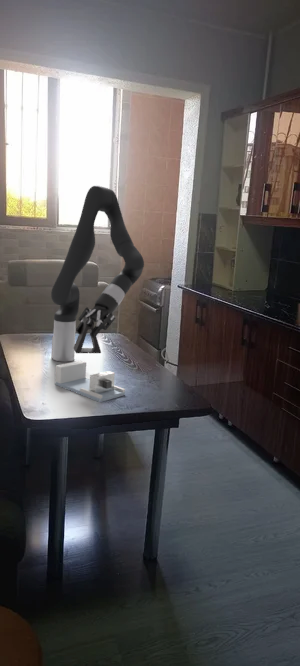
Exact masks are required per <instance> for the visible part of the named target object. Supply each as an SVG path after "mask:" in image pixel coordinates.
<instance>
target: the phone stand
mask: <svg viewBox="0 0 300 666" xmlns="http://www.w3.org/2000/svg"><path fill="white" fill-rule="evenodd" d="M82 319H83V326H82V329H81V332H80V334H78V336H77V338H76V340H75V345H74V350H75V354H101V353H102V350H101V346H100V344H99V341H98V339H97V338H98V337H97V336H96V337H95V338H92V337H91V336H90V338H91V344H92V347H83V346H84V343H85V340H86V338H87V337H86V336H87V334H88V330H89V334H90V333H91V331H92V330H93V329H94V327H95V326H94V325H95V322H93V320H92V319H91V318H90V317H89V319H90V320H91V321H90V323H89V324H86V323H87V321H89V319H88V318H87V317H83V318H82Z"/></svg>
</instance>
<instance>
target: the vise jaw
mask: <svg viewBox="0 0 300 666" xmlns="http://www.w3.org/2000/svg"><path fill="white" fill-rule="evenodd" d="M115 376H116V375H115V372H113V371H110V370H107V371H101V372H98V373H94V374H90V375H89V379H90V385H89V390H90V391H92V392H95V393H97V394H98V393H102V392H105V391H109V390H113V389H114V385H115Z"/></svg>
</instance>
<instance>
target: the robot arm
mask: <svg viewBox="0 0 300 666" xmlns="http://www.w3.org/2000/svg"><path fill="white" fill-rule="evenodd" d="M120 207H121V206H120V203H119V200H118V197H117V195H116V193H115V191H114V190H112V189H111V188H109V187H104V186H100V185H97V184H96V185H92V186H91V187H90V188H89V189H88V191H87V193H86V196H85V199H84V202H83V205H82V210H81V214H80V217H79V220H78V224H77V225H76V229H75V232H74V234H73V237H72V239H71V242H70V245H69V248H68V250H67V254H66V256H65V258H64V262H63V264H62V267H61V269H60V271H59V274H58V276H57V278H56V279H55V282H54V284H53V286H52V289H51V291H50V295H51V296H50V297H51V300H52V302H53V303H54V304H55V305H57V306H59V308H58V309H57V311H55V313H54V315H53V336H52V337H51V359H52V360H53V361H56V362H62V363H64V362H65V363H66V362H67V363H70V362H74V361H75V354H76V352H75V350H74V345H75V343H76V333H77V334H78V335H79V334H80V332H81V329H82V326H83V318H84V317H87V318H88V319H89V317H90V318H91V319H92V320H93V322H94V323H96V325H95V326H94V329H93V330H92V331H91V333H90V332H89V336H90V338H91V337H92V338H95V337H97V335H99V333H100V332H101V331H103V330H104V331H106V330H108V328H109V327H110V326H111V325H112V324H113V322H114V321H115V320H116V317H115V315H114V313H115V311H116V310H117V308H118V307H119V306H120V304H121V303H122V301H123V300H124V298H125V296H126V294H128V292H129V291H130V289H131V287H132V286H133V285H134V284H135V283H136V282H137V281H138V280H139V278H140V277H141V275H142V273H143V270H144V267H145V261H144V258H143V256H142V254H141V252H140V251H139V250H138V249H137V247H136V246H135V245H134V243H133V240H132V238H131V235H130V234H129V232H128V229H127V227H126V225H125V222H124V218H123V215H122V210H121V208H120ZM99 212H103V213H104V214H105V215H106V217H107V218H108V220H109V223H110V230H109V231H110V233H109V234H110V239H111V242H112V245H113V247H114V248H115V251H116V253H117V254H118V256H119V257H122V259H123V262H124V267H123V269H122V270H121V271H120V272H119V273H118V274H116V275H115V276H114V277H113V278H112V280H111V281H110V282H109V284H108V285H107V286H106V287H105V288H104V289H103V291H102V292H101V294H100V295H99V297H97V299H96V300H95V303H94V306H93V308H91V309H90V308H89V307H87V306H86V307H85V308H84V310H83V311H82V312H81V314H80V316H79V317H78V319H77V316H78V314H79V308H80V299H81V297H80V289H79V287H78V285H77V284H76V283H74V282H75V280H76V277H77V276H78V275H79V274H80V272H81V271H82V270H83V269H84V268H85V266H86V265H87V264H88V262H89V261H90V259H91V256H92V254H93V251H94V249H95V247H96V235H95V221H96V218H97V215H98V213H99ZM77 320H78V321H79V324H78V326H76V325H77ZM90 321H91V320H90V319H89V321H87V323H86V324H89V323H90Z"/></svg>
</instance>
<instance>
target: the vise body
mask: <svg viewBox="0 0 300 666" xmlns="http://www.w3.org/2000/svg"><path fill="white" fill-rule="evenodd" d="M86 374H87V362H86V361H83V360H77V361H71V362H67V363H62V364H58V365H55V374H54V375H55V378H54V381H55V384H54V385H55V386H58V387H60V388H62V387H63V389H65V388H66V389H65V390H67V389H68V391H70V390H71V392H73V391H74V392H73V393H75V392H77V393H76V394H78V393H79V394H78V395H80V394H81V395H80V396H83V397H85V398H88V399H91V400H93V401H96V402H99V403H102V402H106V401H108V400H112V399H116V398H119V397H122V396H125V394H126V389H125V388H123V387H120V386H117V385H115V384H114V389H113V390H109V391H105V392H102V393H98V394H97V393H95V392H92V391H90V390H89V385H90V378H88V377H87V378H86V376H87V375H86Z"/></svg>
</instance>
